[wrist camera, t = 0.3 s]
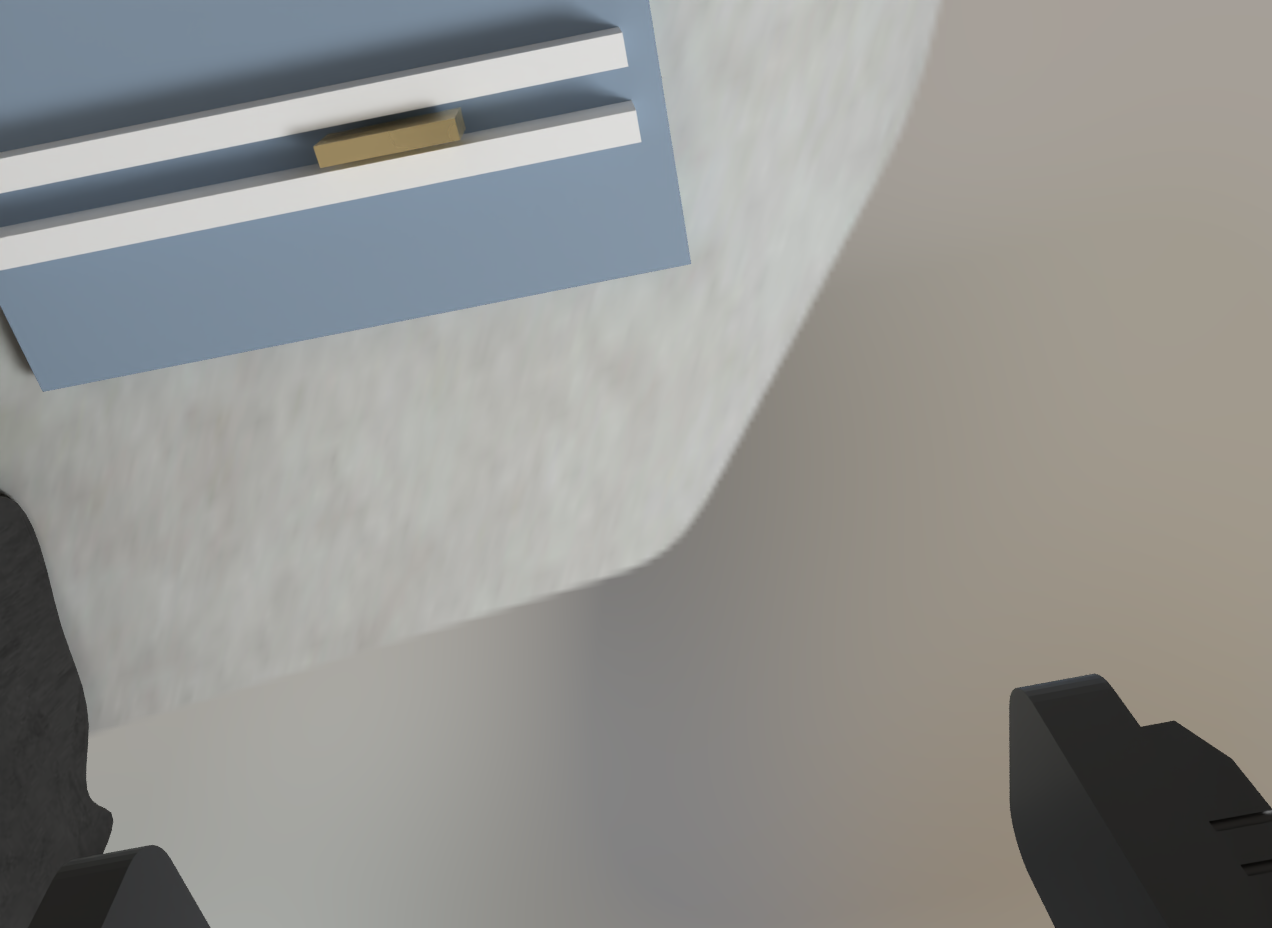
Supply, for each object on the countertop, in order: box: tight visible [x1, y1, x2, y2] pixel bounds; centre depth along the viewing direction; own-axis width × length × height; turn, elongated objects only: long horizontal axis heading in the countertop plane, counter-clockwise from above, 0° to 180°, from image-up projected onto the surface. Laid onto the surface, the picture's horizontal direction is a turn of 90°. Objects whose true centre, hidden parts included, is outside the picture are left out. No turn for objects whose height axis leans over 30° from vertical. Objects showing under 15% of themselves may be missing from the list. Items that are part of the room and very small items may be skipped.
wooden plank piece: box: [313, 107, 466, 168], centre depth 29 cm, size 1×4×2 cm, turn 101°
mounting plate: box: [0, 0, 691, 392], centre depth 31 cm, size 12×22×3 cm, turn 100°
